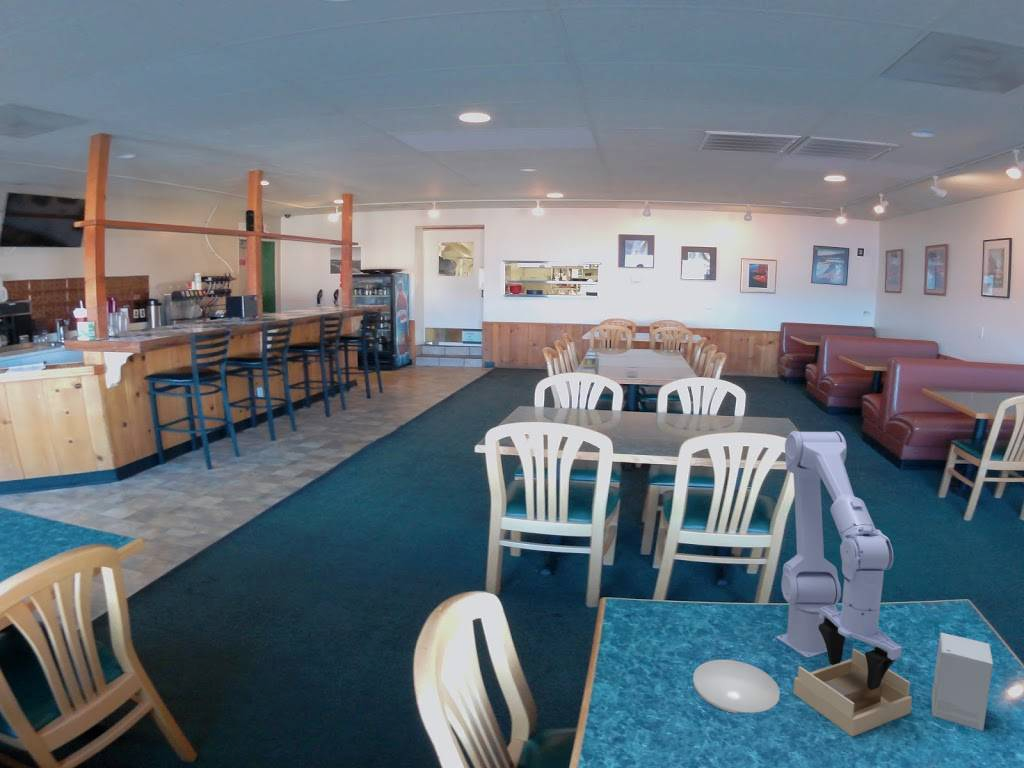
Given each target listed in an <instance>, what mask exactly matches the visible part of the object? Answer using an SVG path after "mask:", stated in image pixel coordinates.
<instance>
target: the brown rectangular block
mask: <svg viewBox="0 0 1024 768" xmlns="http://www.w3.org/2000/svg"><path fill="white" fill-rule="evenodd" d="M867 677H868V672H867V671H865V670H863V669H861V670H858V671H855V672H852V673H849V674H846V675H844V676H841V677H838V678H835V679H832V680H829V681H826V682H824V683H825V684H827V685H828V686H830V687H831V688H833V689H834V690H836V691H837V692H839V693H840V694H842V695H843V696H844V697H846V698H847V699H849V700H850V701H852V702H853V703H854V712H856V711H858V710H861V709H863V708H866V707H869V706H871V705H874V704H876V703H879V702H880V700H881V692H882V683H883V681H881V683H880V686H879V688H876V689H873V690H870V689H868V687H867Z"/></svg>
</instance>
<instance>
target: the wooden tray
mask: <svg viewBox="0 0 1024 768" xmlns="http://www.w3.org/2000/svg"><path fill="white" fill-rule="evenodd" d="M861 669H863V670H865V671H867V672H868V665H867V660H866V656H865V653H862V652H860V651H858V650H857V649H855V648H852V651H851V658H849V659H846V660H844V661H841V663H838V664H835V665H831V664H830V665H829V666H825V667H823V668H820V669H816V670H814V671H810V672H809V671H808V670H806V669H805V668H804V667H803V666H798V669H797V676H796V677H794V680H793V681H794V682H793V691H792V693H793V694H794V695H795V696H796V697H798V698H799V699H800V700H802V701H803V702H805V704H807V705H808V706H810V707H811V708H812V709H814V710H815V711H817V712H818V713H819V714H821V715H822V716H823V717H824V718H826V719H827V720H829V721H830V722H831V723H833V724H834V725H836V726H837V727H838V728H840V730H842V731H844V732H845V733H847V734H848V735H849V736H850V737H855V736H857V735H859V734H863V733H865V732H868V731H871V730H872V729H875V728H877V727H879V726H882V725H884V724H887V723H890V722H893V721H894V720H897V719H900V718H903V717H904V716H908V715H909V714H911V713H912V712H911V711H912V710H911V709H912V703H913V697H912V696H911V695H910V688H911V687H910V686H911V682H910V681H909V680H907V679H906V678H904V677H902V676H901V675H899V674H897V673H896V672H894V671H892V670H890V669H889V668H888V670H887V671H886V673H885V675H884V677H883V679H882V681H883V683H882V692H881V700H880V702H879V703H876V704H874V705H871V706H869V707H866V708H863V709H861V710H858V711H856V712H854V703H853V702H852V701H850V700H849V699H847V698H846V697H844V696H843V695H842V694H840V693H839V692H837V691H836V690H834V689H833V688H831V687H830V686H828V685H827V684H825V683H824V682H826V681H829V680H832V679H835V678H838V677H841V676H844V675H846V674H849V673H852V672H855V671H858V670H861Z"/></svg>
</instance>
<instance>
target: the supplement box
mask: <svg viewBox="0 0 1024 768" xmlns="http://www.w3.org/2000/svg"><path fill="white" fill-rule="evenodd" d="M937 645H938V646H937V655H936V660H935V661H936V662H935V671H934V677H933V684H932V690H931V712H932V716H933V717H936V718H938V719H942V720H945V721H949V722H952V723H956V724H959V725H962V726H965V727H969V728H973V729H976V730H980V731H984V729H985V721H986V715H987V711H988V710H987V708H988V701H989V694H990V689H991V680H992V675H993V674H992V673H993V667H994V661H993V657H992V656H993V655H992V650H991V646H990V643H987V642H982V641H979V640H976V639H971V638H967V637H961V636H958V635H953V634H949V633H945V632H940V634H939V639H938V644H937Z"/></svg>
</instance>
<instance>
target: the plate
mask: <svg viewBox="0 0 1024 768" xmlns="http://www.w3.org/2000/svg"><path fill="white" fill-rule="evenodd" d="M692 676H693V678H692V682H693V683H692V684H693V687H694V689H695V691H696V692H697V694H698V696H700V697H701V698H702V699H703V700H704V701H705V702H707V703H708V704H709V705H711V706H713V707H715V708H717V709H720V710H722V711H725V712H728V713H731V714H735V715H740V713H745V714H747V713H748V714H752V713H762V712H766V711H768V710H771V709H772V708H774V707H775V706H776V705H777V704H778V703H779V700H780V698H781V695H780V694H781V692H780V688H779V686H778V684H777V682H776V681H775V680H774V679H773V678H772V676H770V675H769V674H768V673H766V672H765V671H763V670H762V669H761V668H759V667H756V666H754V665H751V664H748V663H745V662H742V661H738V660H731V659H714V660H709V661H706V662H703V663H702V664H700V665H698V666H697V668H696V669H695V670H694V672H693V675H692Z"/></svg>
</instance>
